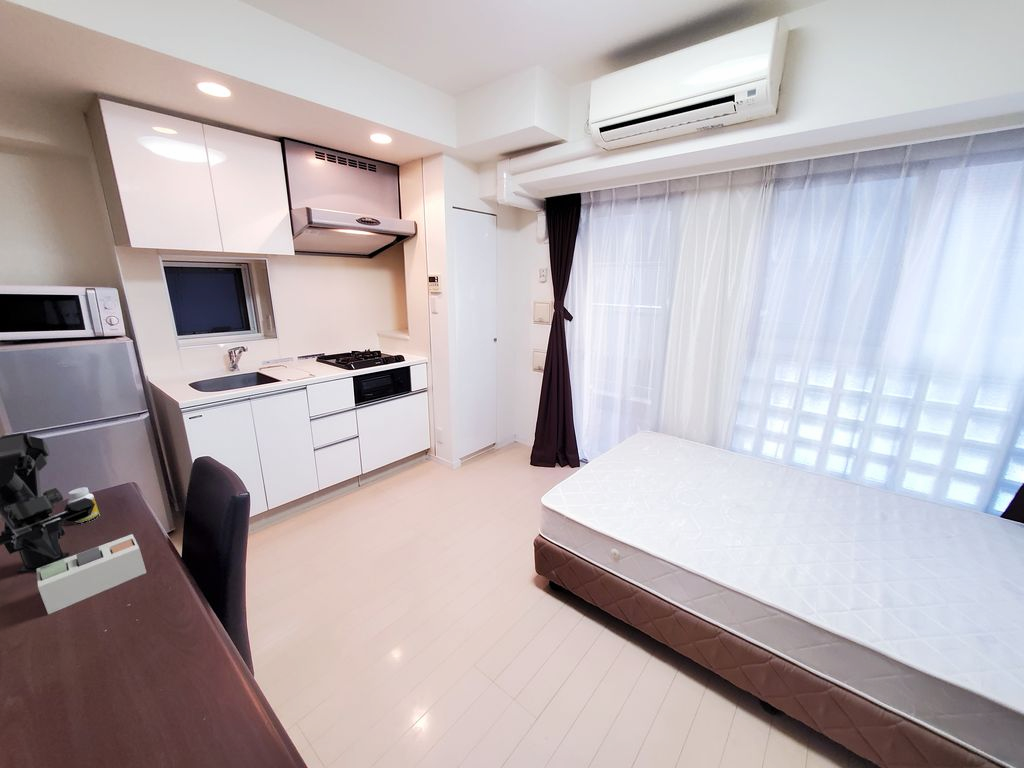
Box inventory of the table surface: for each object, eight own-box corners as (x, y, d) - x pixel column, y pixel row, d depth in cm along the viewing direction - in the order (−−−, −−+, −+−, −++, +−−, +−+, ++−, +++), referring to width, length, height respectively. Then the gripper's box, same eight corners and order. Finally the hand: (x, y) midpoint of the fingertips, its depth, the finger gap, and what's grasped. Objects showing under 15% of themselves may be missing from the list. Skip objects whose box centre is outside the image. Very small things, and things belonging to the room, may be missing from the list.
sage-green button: (43, 576, 88) (40, 567, 87) (67, 567, 91) (64, 559, 90) (44, 584, 86) (40, 574, 85) (68, 574, 88) (65, 565, 88)
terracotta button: (113, 555, 96) (110, 547, 96) (133, 548, 99) (130, 540, 98) (115, 562, 94) (113, 553, 94) (136, 554, 97) (133, 545, 96)
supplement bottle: (104, 515, 122) (95, 486, 119) (82, 525, 117) (72, 496, 114) (92, 513, 123) (83, 484, 121) (69, 523, 118) (59, 493, 116)
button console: (46, 594, 90) (36, 568, 89) (139, 557, 102) (132, 534, 101) (48, 614, 85) (38, 587, 83) (146, 572, 97) (139, 548, 95)
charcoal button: (79, 563, 92) (76, 554, 91) (100, 555, 95) (98, 546, 94) (80, 570, 90) (77, 561, 89) (103, 561, 92) (100, 552, 92)
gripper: (-50, 507, 77) (-3, 568, 76) (79, 466, 94) (118, 516, 93) (-53, 534, 82) (-9, 592, 81) (70, 490, 99) (108, 538, 98)
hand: (57, 556), depth 88 cm, fingers closed
